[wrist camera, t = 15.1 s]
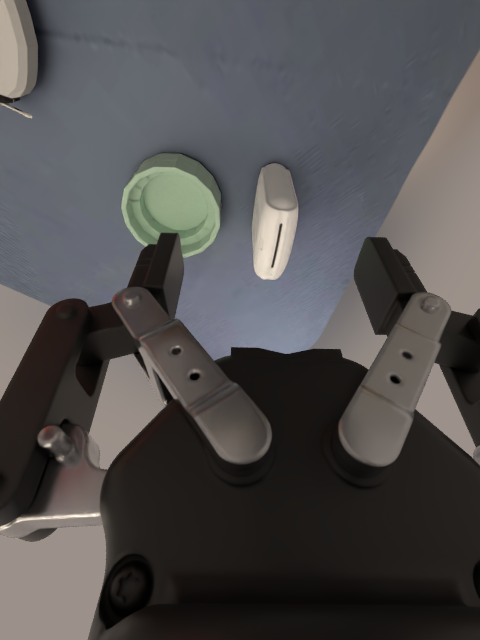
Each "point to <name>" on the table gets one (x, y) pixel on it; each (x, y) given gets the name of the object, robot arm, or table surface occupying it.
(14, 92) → the robot toy
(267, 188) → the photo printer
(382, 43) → the table surface
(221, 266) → the table surface
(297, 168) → the table surface
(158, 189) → the bowl
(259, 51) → the table surface
